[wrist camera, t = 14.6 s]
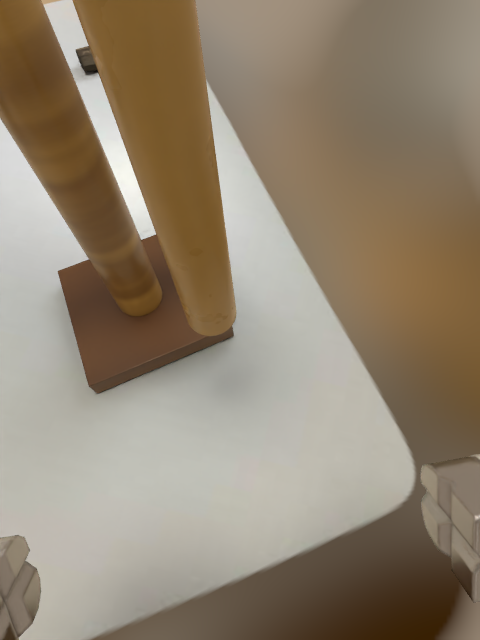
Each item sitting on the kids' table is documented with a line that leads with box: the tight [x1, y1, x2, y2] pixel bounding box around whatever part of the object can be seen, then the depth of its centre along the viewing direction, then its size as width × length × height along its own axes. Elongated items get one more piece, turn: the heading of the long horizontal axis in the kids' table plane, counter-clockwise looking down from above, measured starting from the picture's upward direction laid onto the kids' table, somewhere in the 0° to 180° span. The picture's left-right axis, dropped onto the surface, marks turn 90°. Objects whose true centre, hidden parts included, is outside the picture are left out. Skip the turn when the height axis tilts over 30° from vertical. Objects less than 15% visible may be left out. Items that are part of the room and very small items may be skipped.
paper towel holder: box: [0, 0, 234, 393], centre depth 19 cm, size 10×10×26 cm
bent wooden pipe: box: [73, 0, 236, 336], centre depth 12 cm, size 12×4×18 cm, turn 45°
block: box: [76, 46, 97, 72], centre depth 45 cm, size 4×6×2 cm, turn 116°
